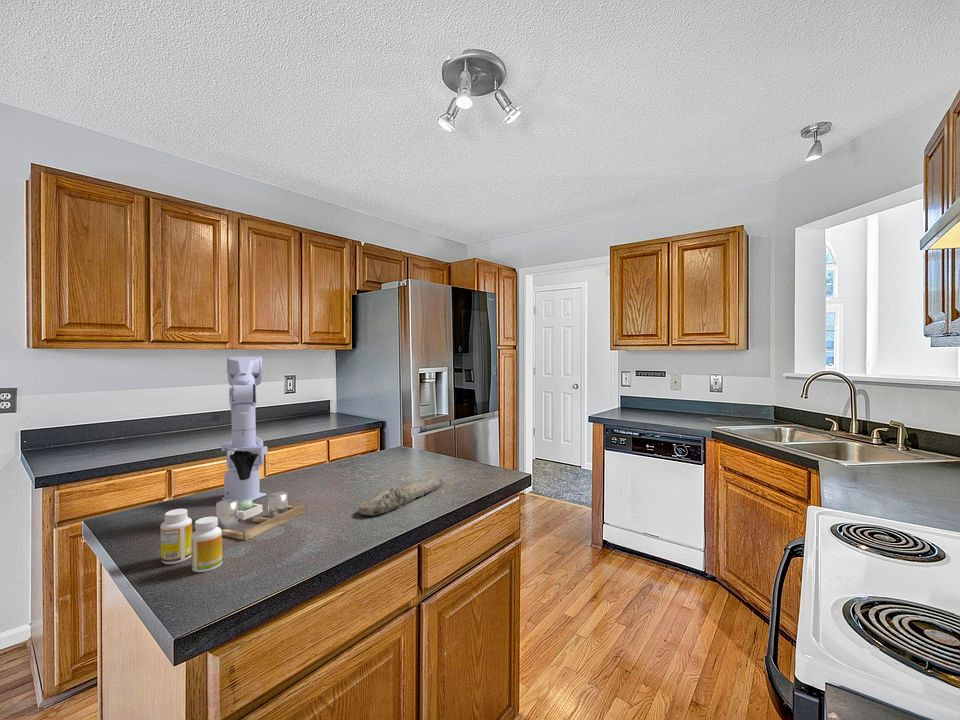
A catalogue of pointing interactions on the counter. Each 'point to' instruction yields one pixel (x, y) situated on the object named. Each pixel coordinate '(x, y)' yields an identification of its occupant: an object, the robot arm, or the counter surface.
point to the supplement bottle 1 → (176, 537)
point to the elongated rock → (399, 496)
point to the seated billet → (277, 503)
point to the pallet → (265, 523)
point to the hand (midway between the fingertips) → (244, 479)
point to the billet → (227, 513)
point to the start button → (245, 505)
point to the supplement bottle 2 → (206, 545)
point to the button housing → (250, 512)
